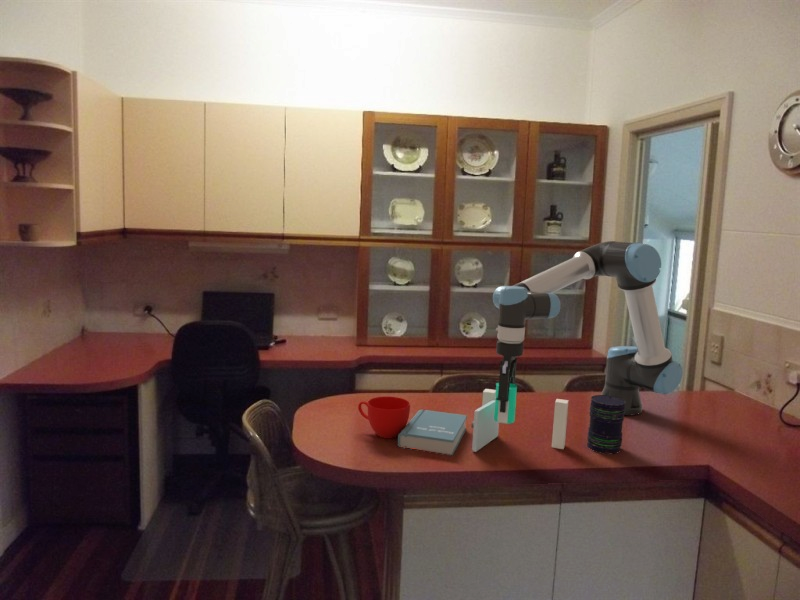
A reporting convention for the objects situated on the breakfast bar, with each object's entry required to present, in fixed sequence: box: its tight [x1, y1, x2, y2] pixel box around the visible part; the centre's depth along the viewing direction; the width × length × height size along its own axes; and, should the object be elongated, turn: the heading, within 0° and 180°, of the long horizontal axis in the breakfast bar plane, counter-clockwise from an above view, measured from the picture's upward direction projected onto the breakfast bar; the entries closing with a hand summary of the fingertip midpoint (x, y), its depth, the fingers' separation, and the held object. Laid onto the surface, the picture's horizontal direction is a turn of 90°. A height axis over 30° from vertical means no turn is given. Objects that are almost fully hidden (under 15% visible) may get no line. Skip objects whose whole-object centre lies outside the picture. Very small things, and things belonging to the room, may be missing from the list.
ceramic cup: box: [357, 396, 411, 439], centre depth 184 cm, size 13×17×10 cm
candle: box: [494, 382, 518, 425], centre depth 173 cm, size 6×6×12 cm
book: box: [397, 409, 468, 456], centre depth 182 cm, size 23×16×5 cm
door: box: [470, 399, 500, 453], centre depth 178 cm, size 16×3×12 cm, turn 148°
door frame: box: [481, 388, 570, 450], centre depth 182 cm, size 25×4×14 cm, turn 69°
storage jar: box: [586, 394, 626, 454], centre depth 179 cm, size 10×10×15 cm
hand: (504, 418), depth 174 cm, fingers closed on candle, 6 cm apart
